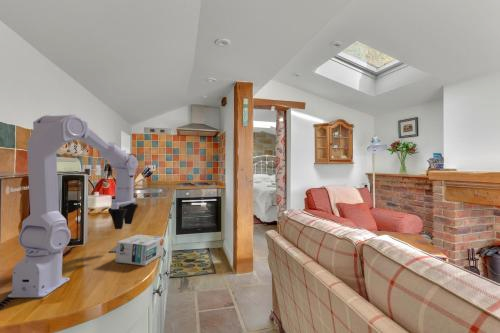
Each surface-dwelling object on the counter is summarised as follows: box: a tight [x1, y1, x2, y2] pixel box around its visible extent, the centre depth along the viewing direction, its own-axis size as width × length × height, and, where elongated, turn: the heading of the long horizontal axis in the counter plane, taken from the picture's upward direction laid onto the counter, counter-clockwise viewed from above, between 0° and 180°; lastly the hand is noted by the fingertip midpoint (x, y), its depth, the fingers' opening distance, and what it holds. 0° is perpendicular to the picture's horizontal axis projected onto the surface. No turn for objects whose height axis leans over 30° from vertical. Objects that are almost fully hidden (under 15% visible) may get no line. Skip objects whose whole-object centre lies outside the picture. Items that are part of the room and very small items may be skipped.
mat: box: [108, 245, 117, 253], centre depth 95 cm, size 12×9×1 cm
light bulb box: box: [115, 233, 165, 267], centre depth 83 cm, size 11×7×11 cm
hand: (123, 226), depth 88 cm, fingers open, 7 cm apart
